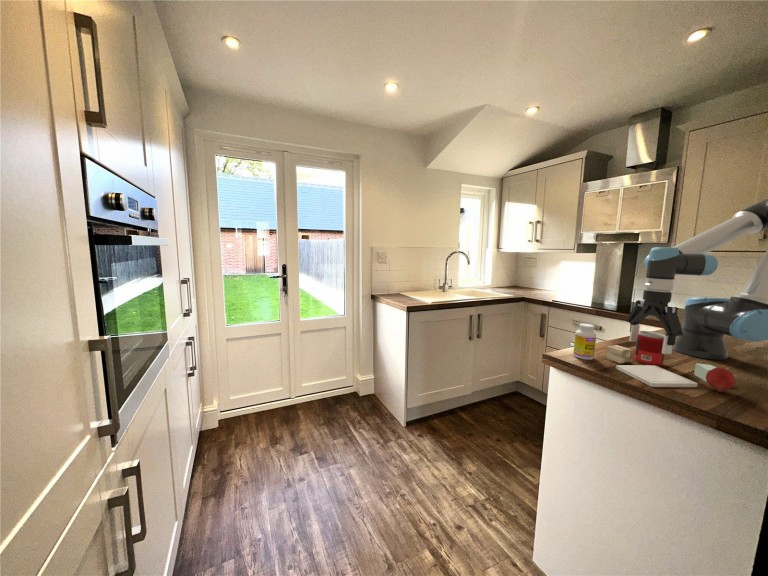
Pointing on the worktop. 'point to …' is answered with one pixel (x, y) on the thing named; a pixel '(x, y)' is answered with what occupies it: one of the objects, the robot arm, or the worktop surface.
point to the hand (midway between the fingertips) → (648, 347)
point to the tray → (655, 376)
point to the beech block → (618, 354)
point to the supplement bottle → (585, 342)
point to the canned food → (649, 348)
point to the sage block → (702, 370)
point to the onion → (720, 379)
